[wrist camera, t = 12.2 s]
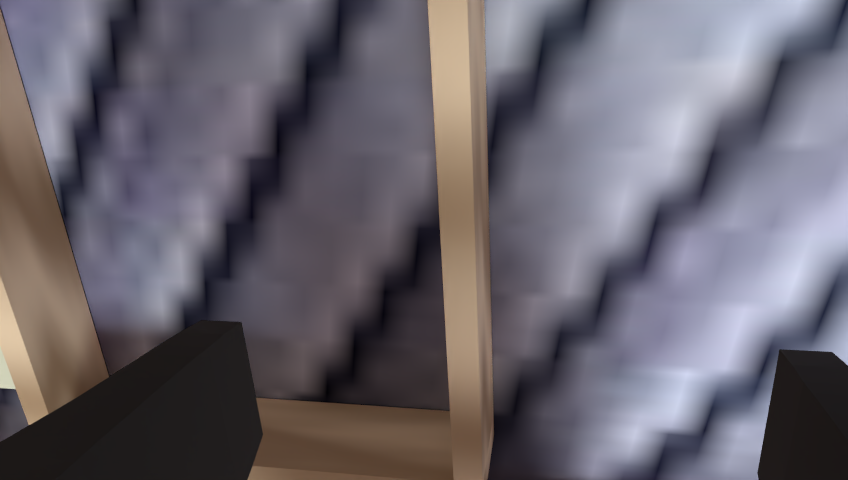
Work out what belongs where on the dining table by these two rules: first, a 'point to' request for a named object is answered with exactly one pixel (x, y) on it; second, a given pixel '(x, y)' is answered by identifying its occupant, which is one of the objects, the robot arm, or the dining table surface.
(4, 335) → the wooden tray
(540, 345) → the dining table surface
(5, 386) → the mat
